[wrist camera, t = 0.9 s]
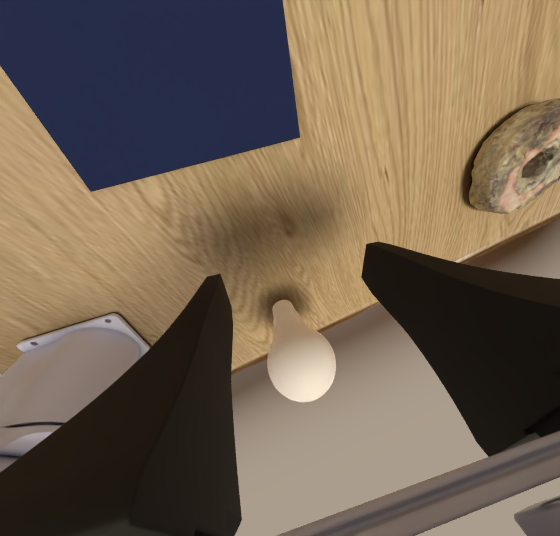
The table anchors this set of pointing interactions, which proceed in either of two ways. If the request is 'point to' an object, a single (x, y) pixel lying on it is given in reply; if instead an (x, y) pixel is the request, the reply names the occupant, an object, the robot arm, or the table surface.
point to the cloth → (151, 80)
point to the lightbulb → (299, 356)
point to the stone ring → (518, 160)
